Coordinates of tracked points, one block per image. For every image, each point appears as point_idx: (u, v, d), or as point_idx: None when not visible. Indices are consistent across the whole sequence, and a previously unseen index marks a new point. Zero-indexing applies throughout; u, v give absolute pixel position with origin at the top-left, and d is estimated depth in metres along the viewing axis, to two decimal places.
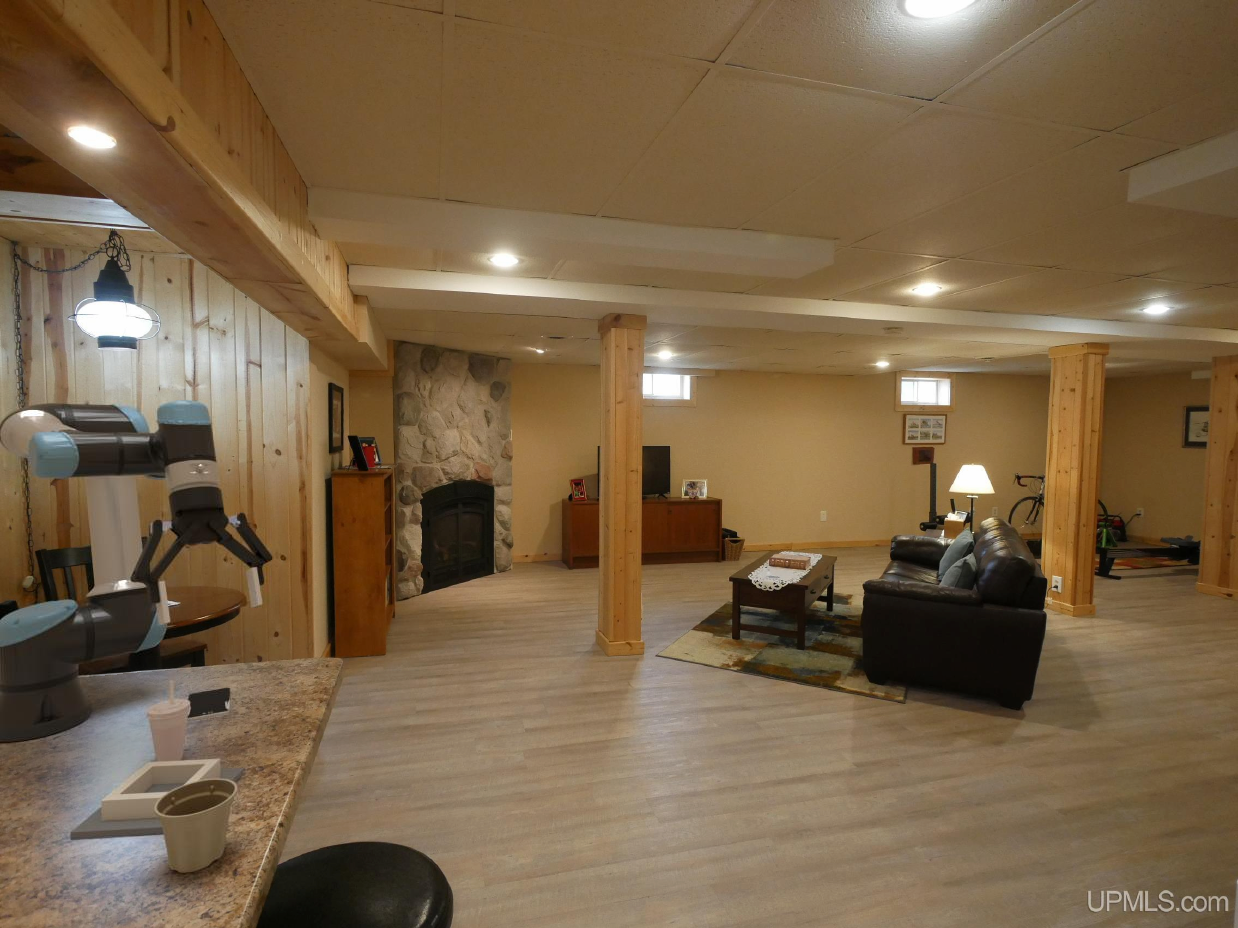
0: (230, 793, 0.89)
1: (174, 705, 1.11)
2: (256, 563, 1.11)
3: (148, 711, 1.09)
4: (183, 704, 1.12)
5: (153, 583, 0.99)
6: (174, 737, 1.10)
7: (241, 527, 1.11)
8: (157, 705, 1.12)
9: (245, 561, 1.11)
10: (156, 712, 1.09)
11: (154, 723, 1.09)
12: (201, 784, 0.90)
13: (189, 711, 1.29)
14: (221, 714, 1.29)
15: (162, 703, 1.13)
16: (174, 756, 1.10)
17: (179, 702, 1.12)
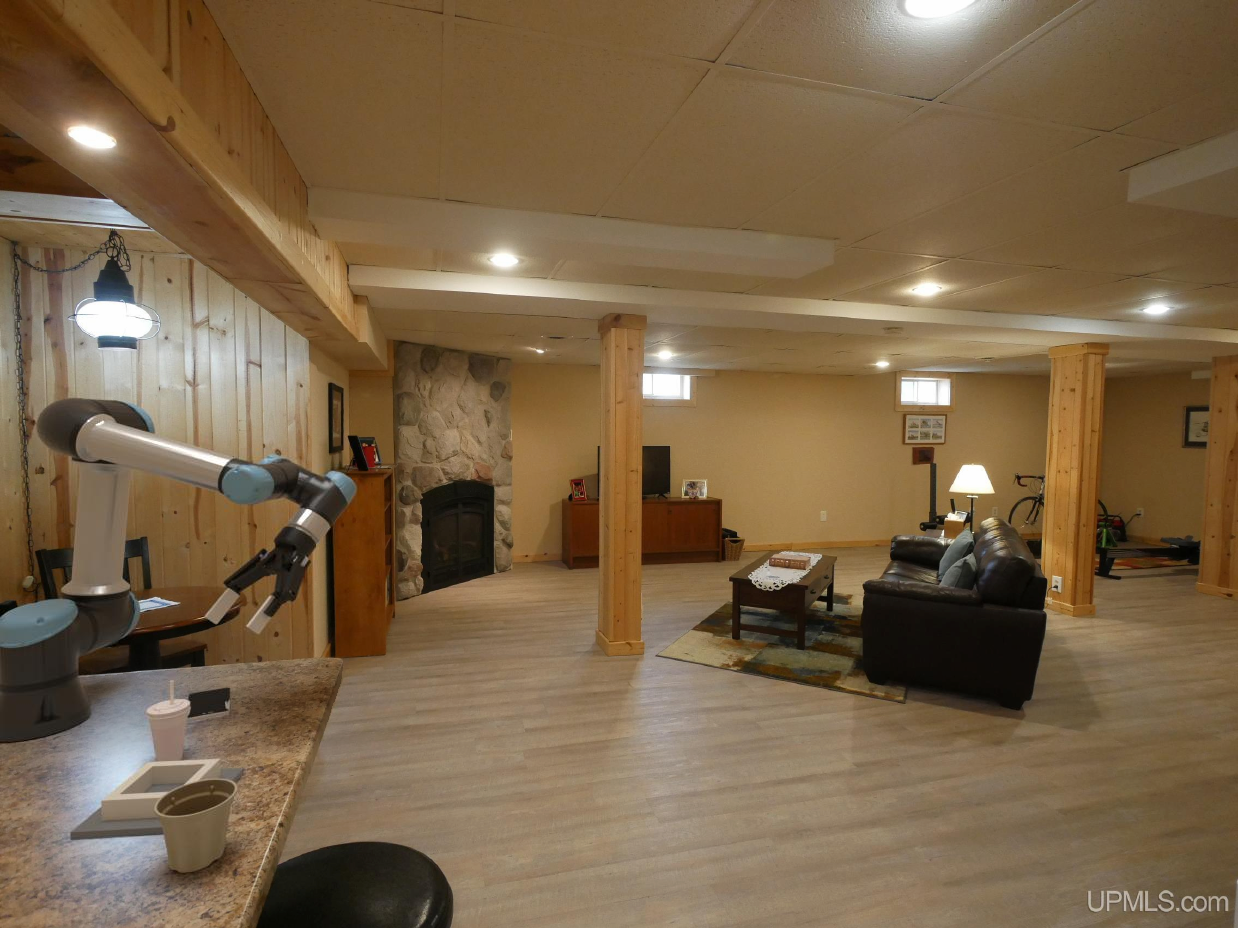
0: (230, 793, 0.89)
1: (174, 705, 1.11)
2: (238, 592, 1.28)
3: (148, 711, 1.09)
4: (183, 704, 1.12)
5: None
6: (174, 737, 1.10)
7: (263, 564, 1.31)
8: (157, 705, 1.12)
9: (238, 584, 1.27)
10: (156, 712, 1.09)
11: (154, 723, 1.09)
12: (201, 784, 0.90)
13: (189, 711, 1.29)
14: (221, 714, 1.29)
15: (162, 703, 1.13)
16: (174, 756, 1.10)
17: (179, 702, 1.12)
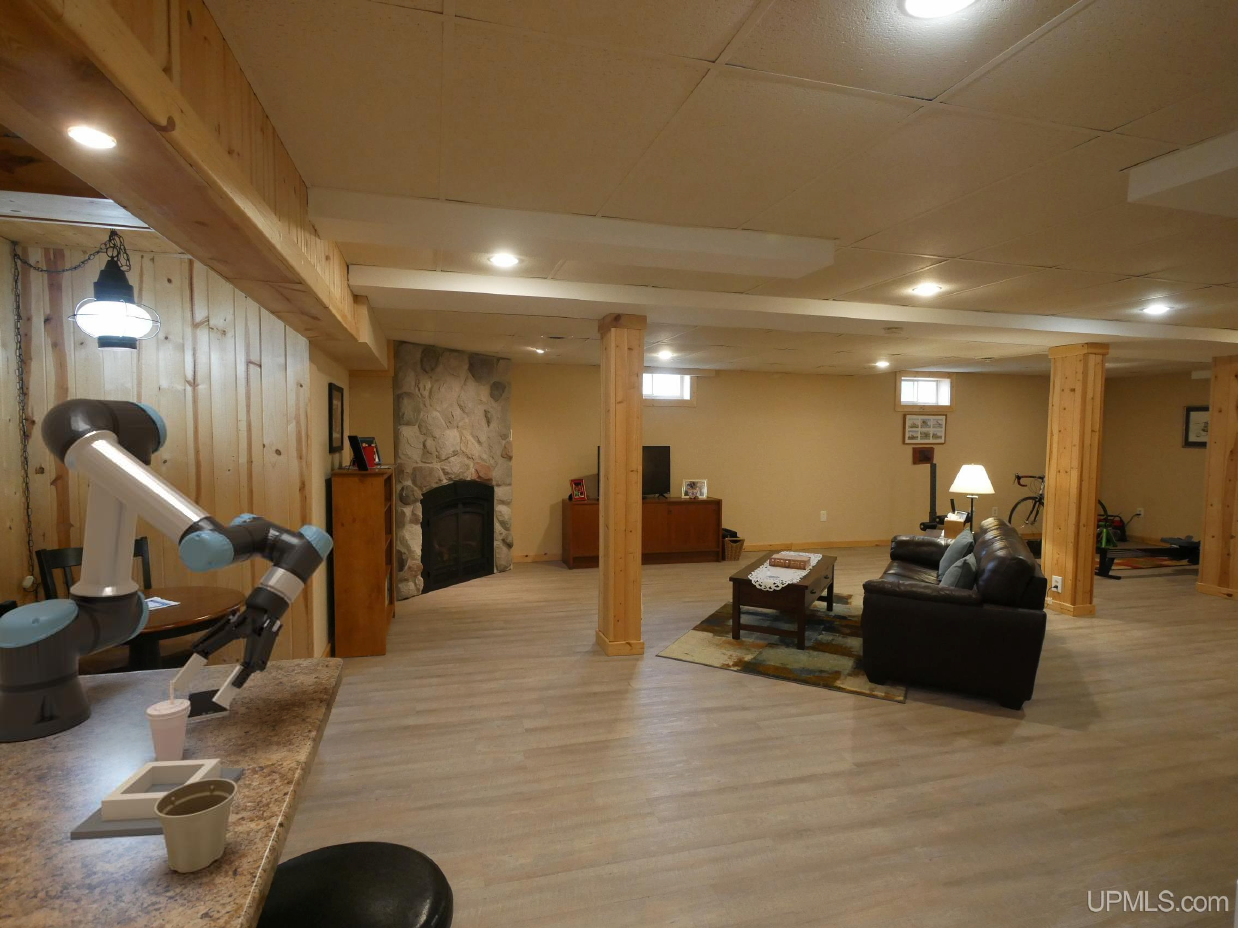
0: (230, 793, 0.89)
1: (174, 705, 1.11)
2: None
3: (148, 711, 1.09)
4: (183, 704, 1.12)
5: None
6: (174, 737, 1.10)
7: None
8: (157, 705, 1.12)
9: (206, 649, 1.21)
10: (156, 712, 1.09)
11: (154, 723, 1.09)
12: (201, 784, 0.90)
13: (189, 711, 1.29)
14: (221, 714, 1.29)
15: (162, 703, 1.13)
16: (174, 756, 1.10)
17: (179, 702, 1.12)
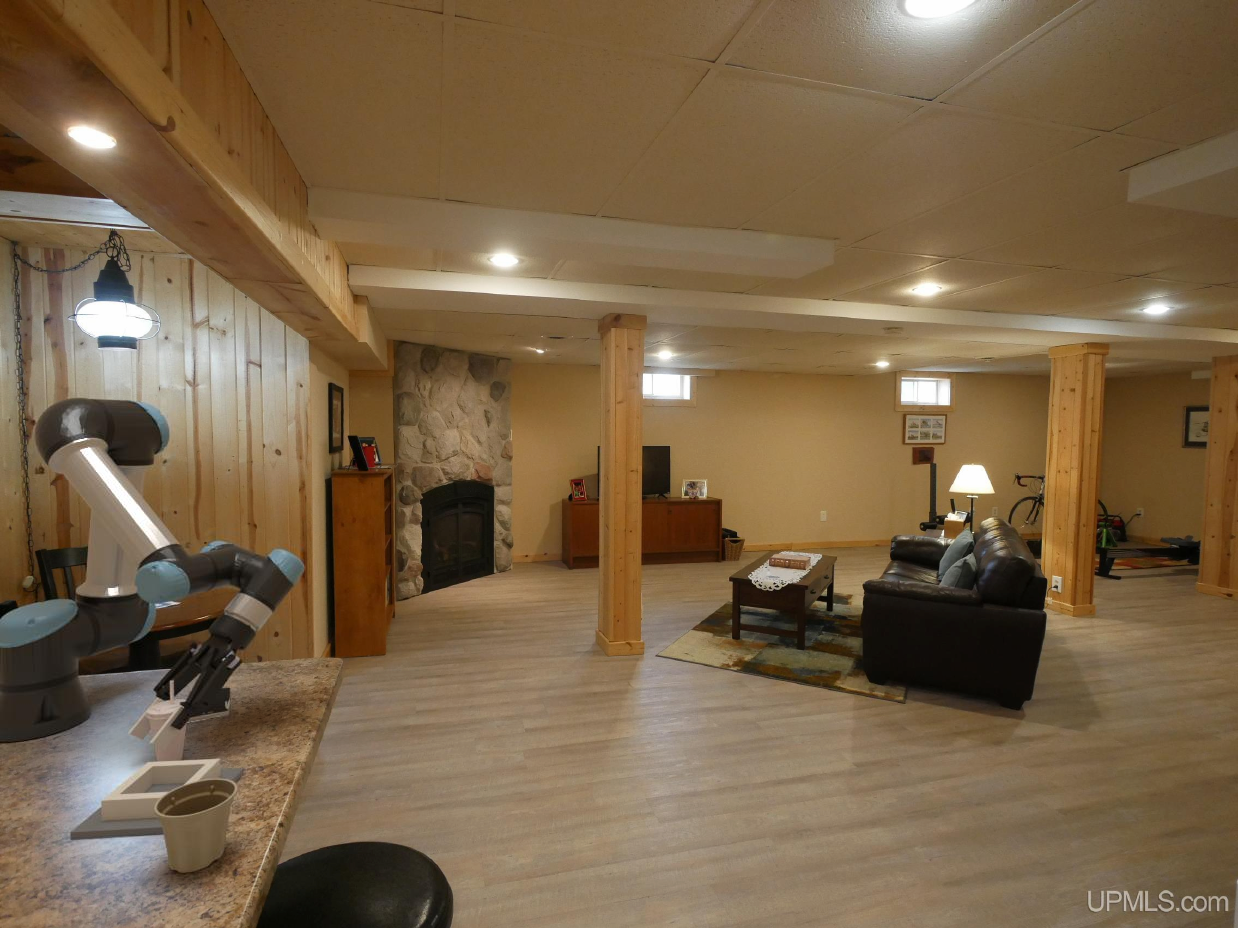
0: (230, 793, 0.89)
1: (174, 705, 1.11)
2: None
3: (148, 711, 1.09)
4: None
5: None
6: (174, 737, 1.10)
7: None
8: (157, 705, 1.12)
9: None
10: (156, 712, 1.09)
11: (154, 723, 1.09)
12: (201, 784, 0.90)
13: None
14: (221, 714, 1.29)
15: (162, 703, 1.13)
16: (174, 756, 1.10)
17: (179, 702, 1.12)
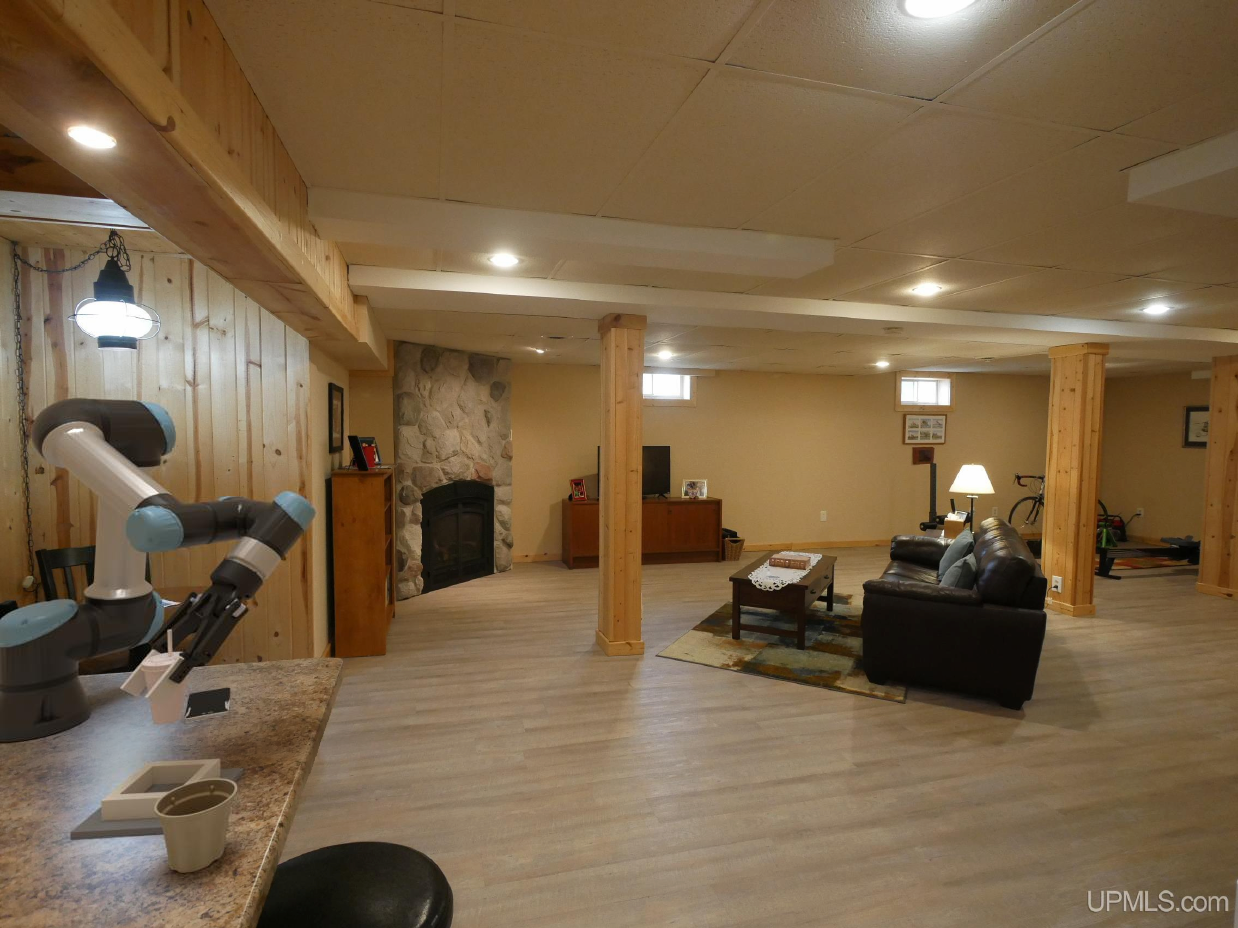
0: (230, 793, 0.89)
1: (173, 657, 0.99)
2: None
3: (143, 663, 0.97)
4: None
5: None
6: None
7: (196, 610, 1.07)
8: (153, 657, 0.99)
9: None
10: (152, 664, 0.96)
11: (150, 676, 0.96)
12: (201, 784, 0.90)
13: (189, 711, 1.29)
14: (221, 714, 1.29)
15: (159, 656, 1.00)
16: (173, 714, 0.98)
17: (178, 654, 1.00)
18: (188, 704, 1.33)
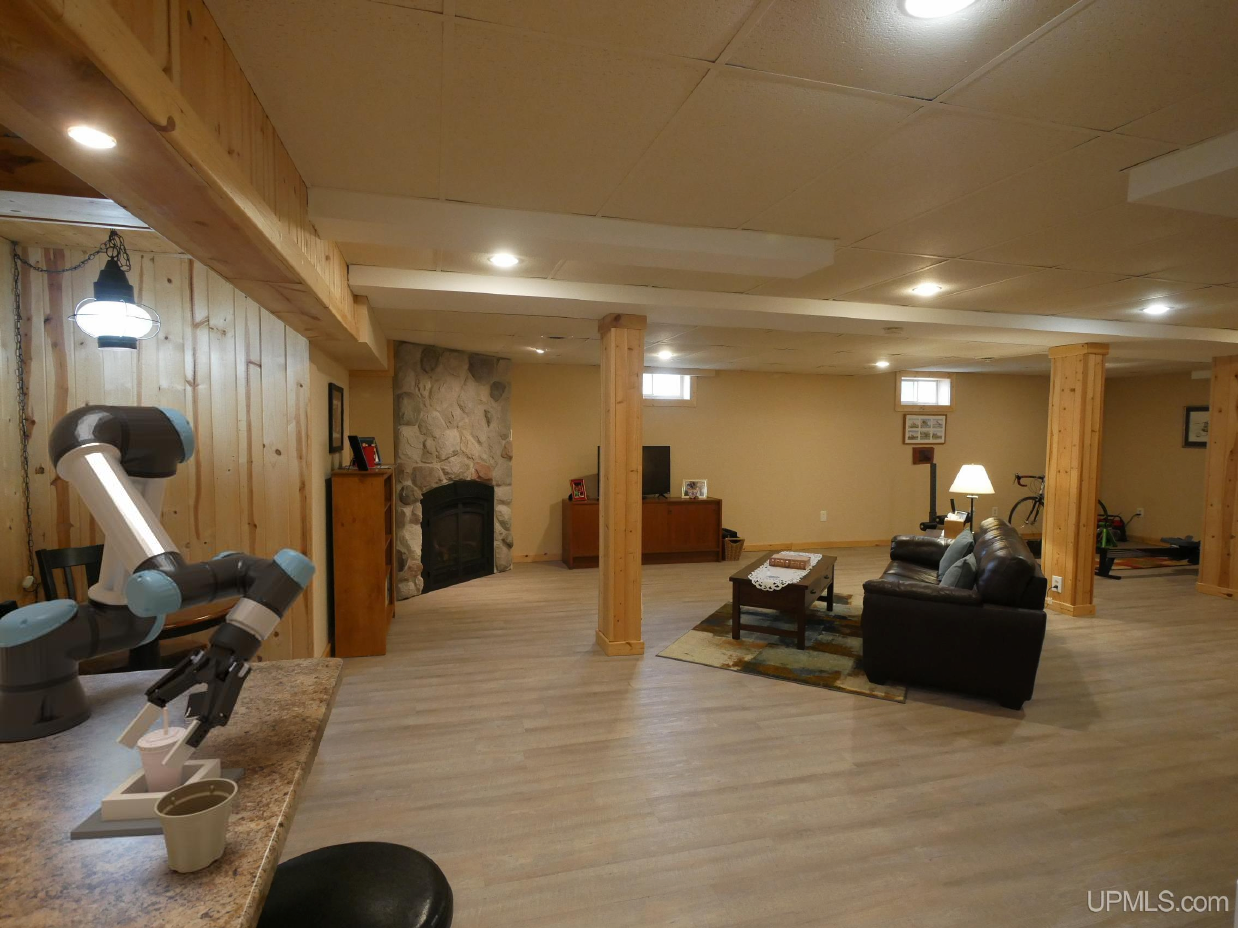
0: (230, 793, 0.89)
1: (169, 735, 0.98)
2: (163, 704, 1.05)
3: (139, 743, 0.96)
4: (179, 734, 0.99)
5: None
6: (169, 771, 0.97)
7: None
8: (149, 735, 0.98)
9: (163, 696, 1.03)
10: (148, 744, 0.96)
11: (146, 757, 0.95)
12: (201, 784, 0.90)
13: (189, 711, 1.29)
14: (220, 714, 1.29)
15: (155, 732, 0.99)
16: None
17: (174, 731, 0.99)
18: (188, 704, 1.33)
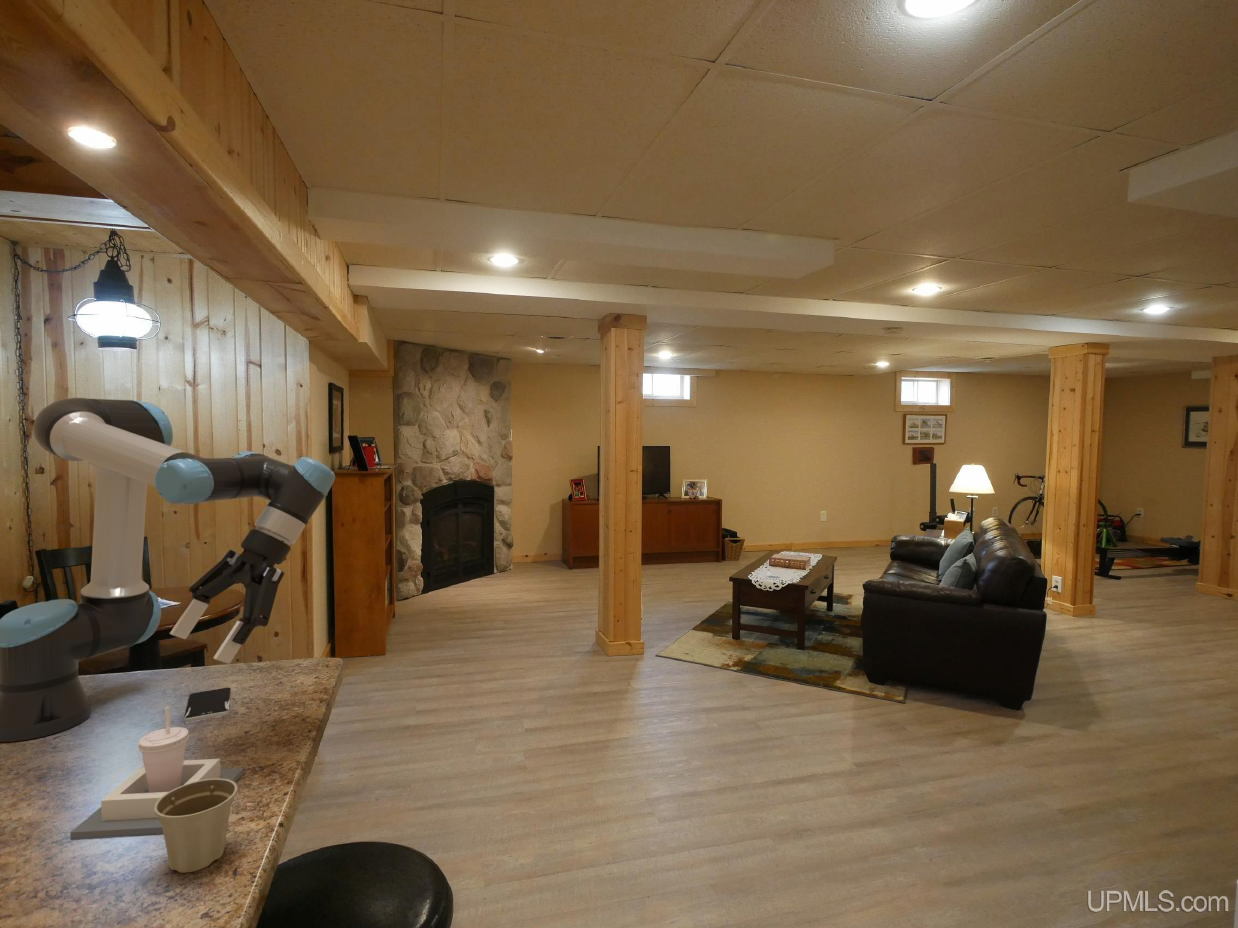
0: (230, 793, 0.89)
1: (170, 735, 0.98)
2: None
3: (140, 742, 0.96)
4: (180, 733, 0.99)
5: None
6: (170, 771, 0.97)
7: None
8: (151, 735, 0.99)
9: (206, 594, 1.12)
10: (149, 744, 0.96)
11: (147, 756, 0.96)
12: (201, 784, 0.90)
13: (189, 711, 1.29)
14: (220, 714, 1.29)
15: (157, 732, 0.99)
16: None
17: (176, 731, 0.99)
18: (188, 704, 1.33)
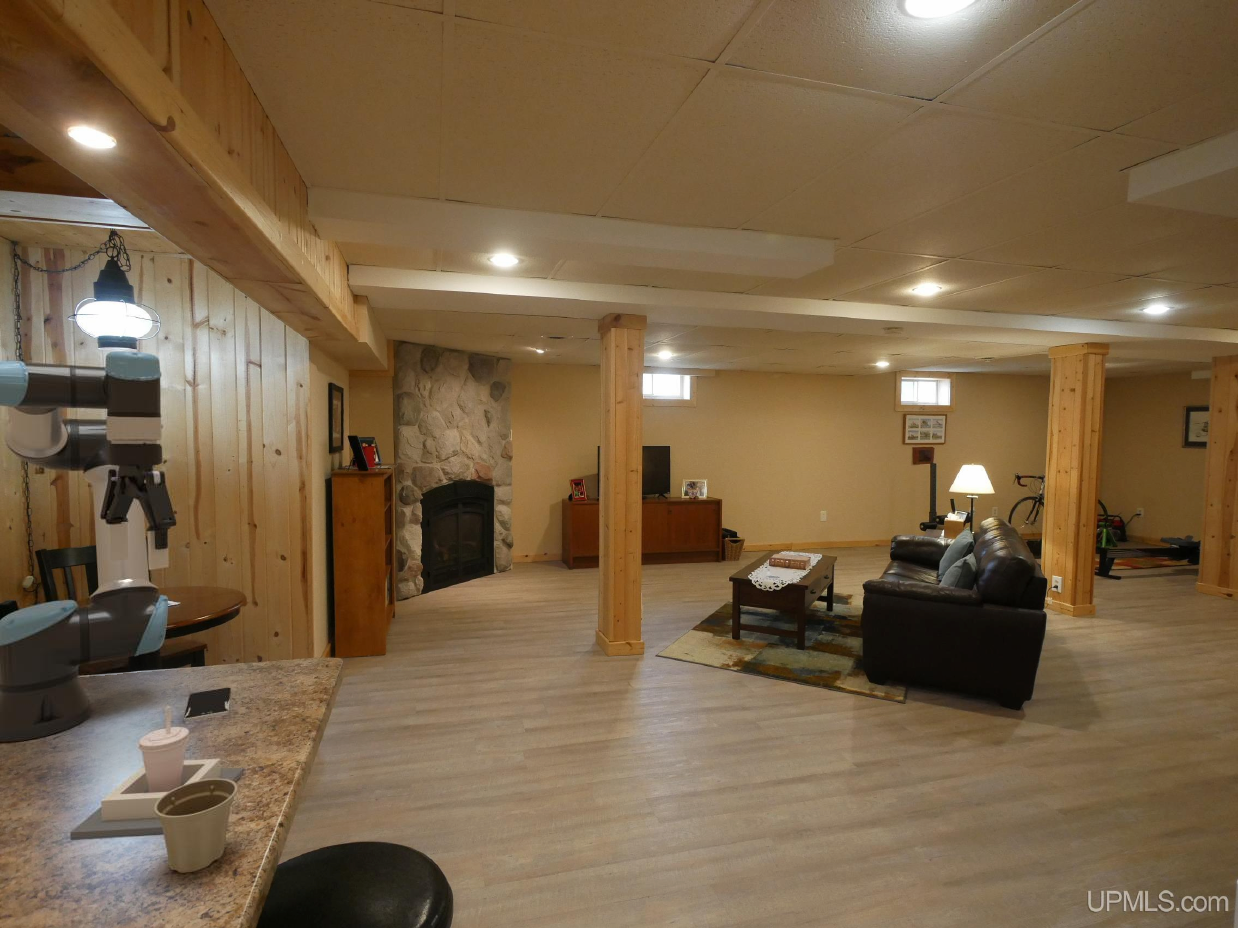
0: (230, 793, 0.89)
1: (170, 735, 0.98)
2: (123, 519, 1.15)
3: (141, 742, 0.96)
4: (181, 733, 0.99)
5: None
6: (170, 771, 0.97)
7: None
8: (151, 734, 0.99)
9: (116, 516, 1.13)
10: (150, 743, 0.96)
11: (148, 755, 0.96)
12: (201, 784, 0.90)
13: (189, 711, 1.29)
14: (220, 714, 1.29)
15: (157, 732, 1.00)
16: None
17: (176, 731, 0.99)
18: (188, 704, 1.33)
